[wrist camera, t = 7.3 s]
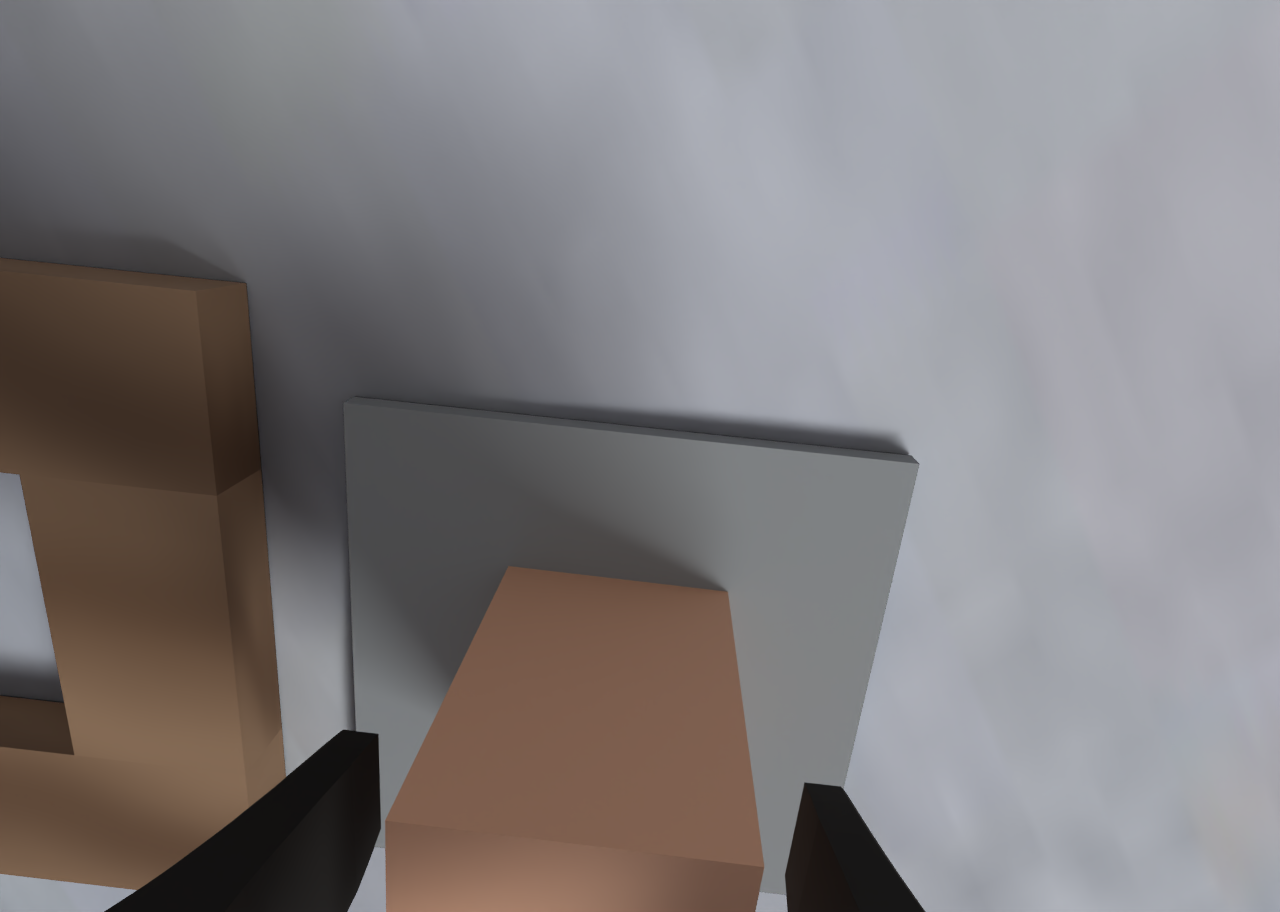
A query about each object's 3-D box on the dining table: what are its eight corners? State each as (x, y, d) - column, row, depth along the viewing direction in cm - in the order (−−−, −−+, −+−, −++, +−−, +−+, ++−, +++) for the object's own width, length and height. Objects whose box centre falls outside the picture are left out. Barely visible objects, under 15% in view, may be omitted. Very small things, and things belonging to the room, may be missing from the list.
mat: (813, 880, 18) (817, 898, 17) (369, 828, 18) (360, 845, 17) (911, 455, 14) (919, 463, 13) (354, 396, 14) (343, 402, 14)
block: (699, 769, 16) (712, 1115, 10) (499, 745, 16) (389, 1073, 10) (727, 591, 15) (764, 867, 8) (508, 566, 15) (385, 820, 8)
